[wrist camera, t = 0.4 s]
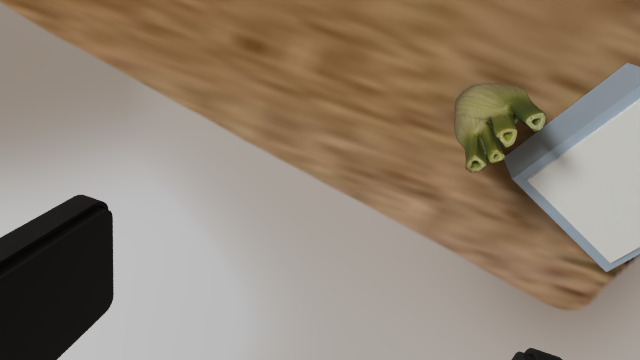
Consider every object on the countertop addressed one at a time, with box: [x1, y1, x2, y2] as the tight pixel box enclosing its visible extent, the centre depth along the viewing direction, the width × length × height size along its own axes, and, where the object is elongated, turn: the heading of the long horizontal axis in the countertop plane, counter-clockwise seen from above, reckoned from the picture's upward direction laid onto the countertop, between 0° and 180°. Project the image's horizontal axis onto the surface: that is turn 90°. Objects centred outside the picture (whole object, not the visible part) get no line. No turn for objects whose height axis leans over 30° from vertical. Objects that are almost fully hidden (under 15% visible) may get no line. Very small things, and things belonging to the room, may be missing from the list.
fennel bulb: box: [454, 83, 546, 173], centre depth 32 cm, size 6×5×12 cm
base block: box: [504, 63, 640, 272], centre depth 34 cm, size 12×12×5 cm
